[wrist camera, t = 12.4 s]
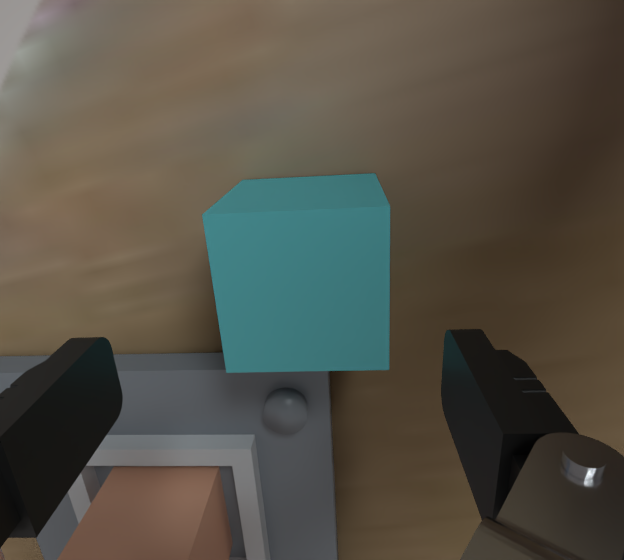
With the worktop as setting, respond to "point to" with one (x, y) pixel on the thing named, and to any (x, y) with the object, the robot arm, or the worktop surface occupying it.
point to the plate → (219, 448)
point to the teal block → (302, 273)
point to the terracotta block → (155, 516)
